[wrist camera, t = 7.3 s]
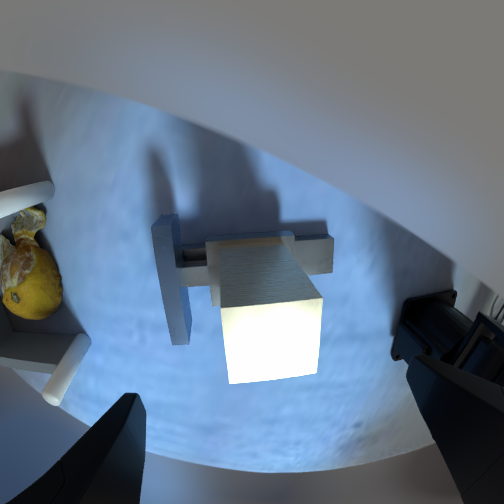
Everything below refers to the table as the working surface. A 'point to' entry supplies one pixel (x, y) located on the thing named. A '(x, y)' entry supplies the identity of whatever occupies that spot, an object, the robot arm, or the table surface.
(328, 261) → the rail
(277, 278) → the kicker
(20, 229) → the fruit
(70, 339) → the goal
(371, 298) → the table surface
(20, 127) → the table surface
